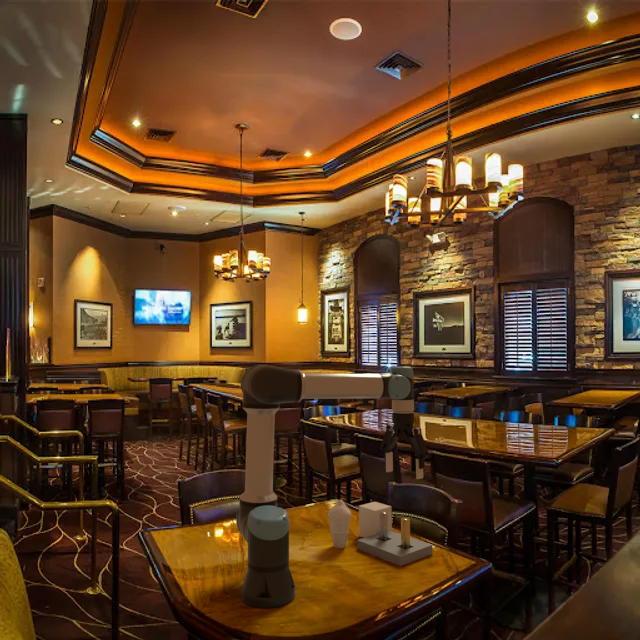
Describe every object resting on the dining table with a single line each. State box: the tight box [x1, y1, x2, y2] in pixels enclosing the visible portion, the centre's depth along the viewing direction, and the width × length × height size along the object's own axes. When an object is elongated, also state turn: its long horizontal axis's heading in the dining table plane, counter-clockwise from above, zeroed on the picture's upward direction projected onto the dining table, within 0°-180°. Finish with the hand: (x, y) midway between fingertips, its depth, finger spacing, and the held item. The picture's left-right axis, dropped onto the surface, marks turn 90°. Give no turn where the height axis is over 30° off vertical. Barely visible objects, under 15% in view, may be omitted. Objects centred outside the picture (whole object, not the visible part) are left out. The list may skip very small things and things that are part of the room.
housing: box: [358, 501, 393, 538], centre depth 200 cm, size 9×9×11 cm
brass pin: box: [400, 517, 411, 550], centre depth 181 cm, size 3×3×12 cm
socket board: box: [356, 530, 434, 567], centre depth 184 cm, size 16×20×3 cm
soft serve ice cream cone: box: [327, 499, 352, 549], centre depth 190 cm, size 8×8×16 cm
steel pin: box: [379, 511, 388, 541], centre depth 188 cm, size 3×3×12 cm
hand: (404, 475), depth 182 cm, fingers open, 13 cm apart
